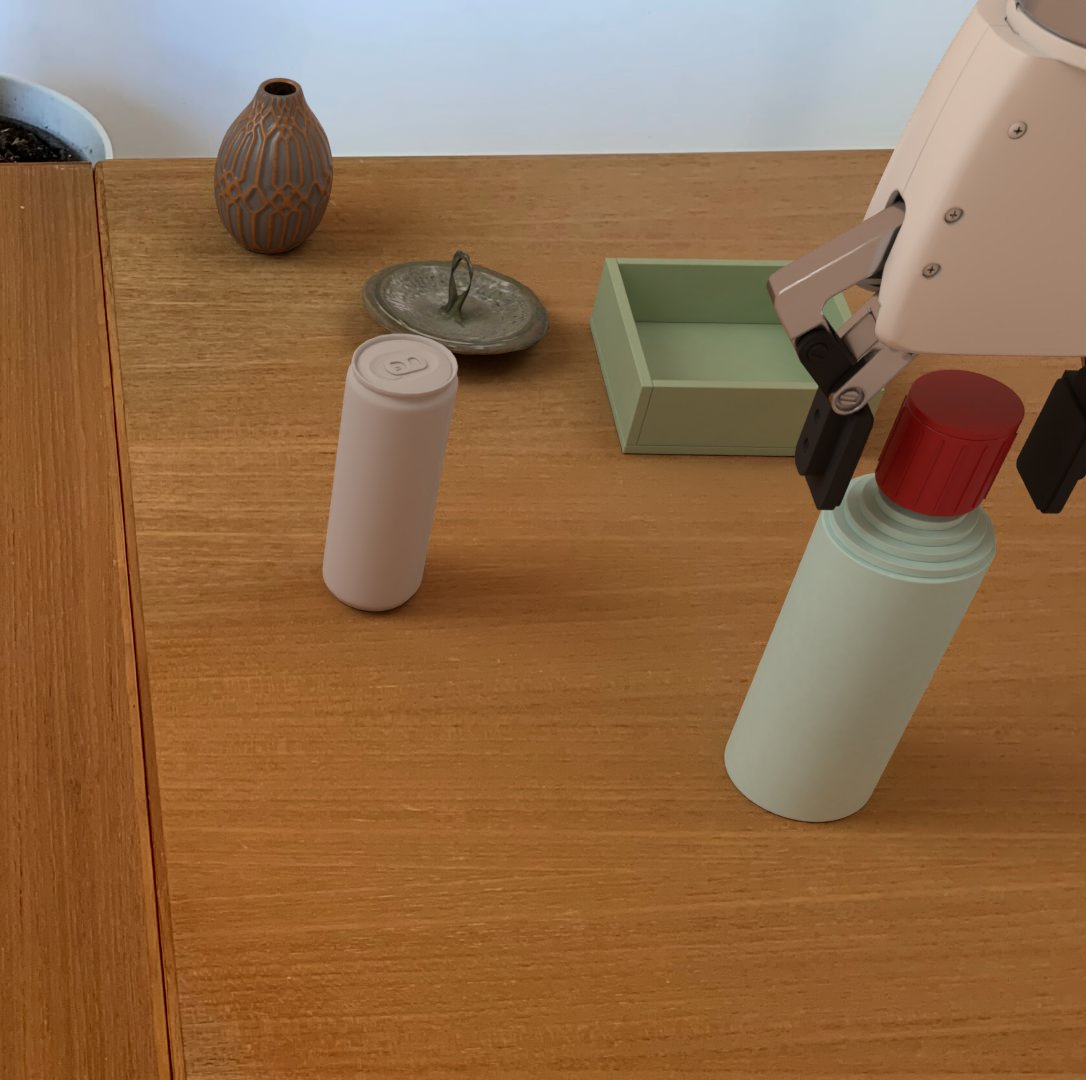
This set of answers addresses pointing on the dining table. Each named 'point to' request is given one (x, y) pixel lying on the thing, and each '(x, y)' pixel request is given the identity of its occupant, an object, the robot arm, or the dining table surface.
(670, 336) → the bin
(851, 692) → the bottle
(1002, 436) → the cap
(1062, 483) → the robot arm
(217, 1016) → the dining table surface
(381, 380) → the beverage can
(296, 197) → the vase
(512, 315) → the lid
